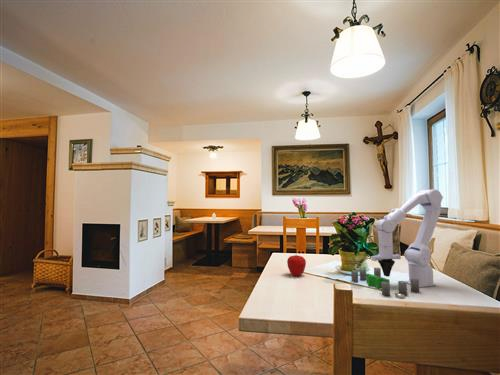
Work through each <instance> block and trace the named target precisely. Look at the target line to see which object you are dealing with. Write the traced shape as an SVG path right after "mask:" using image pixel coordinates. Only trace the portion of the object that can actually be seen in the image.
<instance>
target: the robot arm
mask: <svg viewBox="0 0 500 375" xmlns="http://www.w3.org/2000/svg"><path fill="white" fill-rule="evenodd" d="M443 198H444V196H443V195H442V193H441V192H440V190H438V189H436V188H432V189H419V190H418V189H417V191H416V192H414V193H413V194H412V196H411V197H410V198H409V199H408V200H406V202H405V203H404V204H402V206H400V208H397V207H396V208H392V209H391V210H390V212H389V213H388V214H387V215H384V216H383V218H382V219H378V220H377V222H376V224H375V226H374V227H375V229H376V231H377V234H378V253H377V254H375V255H372V256H370V258H371V261H373V262H378V264H379V266H380V268H381V270H382V273H383V277H387V278H389V277H390V276H391V272H392V268H393V267H394V265H395V262H396V261H395V260H401V258H402V257H401V254H399V253H396V254H394V250H393V249H394V246H393V232H394V231H395V229H396V226H397V225H398V224H399V223H401V222H402V221H403V220H404V219H405V218H406V214H407V213H409V212H410V211H411V210H413V209H414V208H416V207H417V206H418V205H420V206H422V208H423V209H424V210H425V212H424V215H423V218H422V221H421V224H420V226H419V229H418V231H417V234H416V236H415V240H414V241H413V242H412V243H410V244H409V245H408V248H407V249H406V250H405V251H404V258H405V260H406V261H407V263H408V267H407V268H408V280H405V282H407V284H408V285H411V279H418V280H419V288H423V287H433V286H436V284H435V283H434V282H435V281H434V270H433V268H432V266H431V265H430V263H431V259H432V258H431V255H432V254H431V253H432V250H431V249H430V247H429V245H430V242H431V239H432V237H433V235H434V231H435V228H436V227H437V223H438V220H439V218H440V215H441V213H442V201H443Z"/></svg>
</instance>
